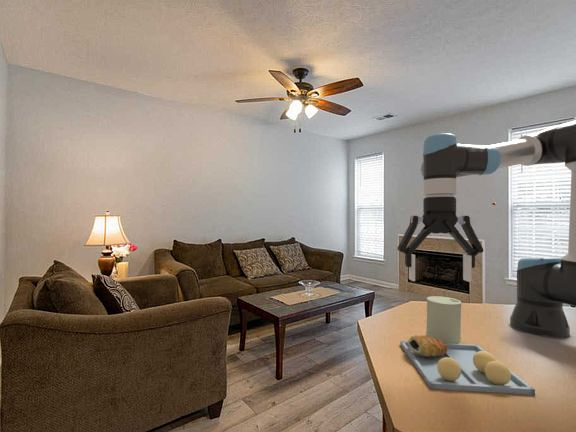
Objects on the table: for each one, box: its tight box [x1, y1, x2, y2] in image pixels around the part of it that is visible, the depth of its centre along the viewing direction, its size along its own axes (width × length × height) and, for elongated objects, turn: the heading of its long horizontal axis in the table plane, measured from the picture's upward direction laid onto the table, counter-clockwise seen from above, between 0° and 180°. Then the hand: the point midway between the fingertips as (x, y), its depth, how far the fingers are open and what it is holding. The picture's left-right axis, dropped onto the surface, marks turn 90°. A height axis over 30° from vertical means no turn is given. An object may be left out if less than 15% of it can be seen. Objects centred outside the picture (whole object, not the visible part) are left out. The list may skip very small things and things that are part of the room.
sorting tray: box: [400, 340, 536, 396], centre depth 74 cm, size 20×22×2 cm
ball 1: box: [473, 350, 497, 373], centre depth 71 cm, size 5×5×5 cm
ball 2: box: [485, 360, 511, 385], centre depth 66 cm, size 5×5×5 cm
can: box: [425, 295, 463, 344], centre depth 92 cm, size 9×9×12 cm
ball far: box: [437, 357, 461, 381], centre depth 68 cm, size 5×5×5 cm
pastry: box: [407, 334, 447, 356], centre depth 80 cm, size 9×7×4 cm
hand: (439, 280), depth 80 cm, fingers open, 13 cm apart
